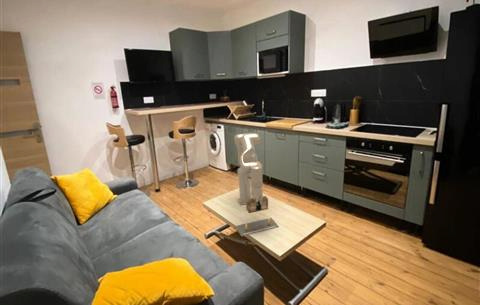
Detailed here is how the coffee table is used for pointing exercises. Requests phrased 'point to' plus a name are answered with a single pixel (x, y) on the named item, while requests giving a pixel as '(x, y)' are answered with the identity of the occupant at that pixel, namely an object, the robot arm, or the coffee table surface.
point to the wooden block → (252, 204)
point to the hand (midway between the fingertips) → (257, 208)
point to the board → (256, 226)
